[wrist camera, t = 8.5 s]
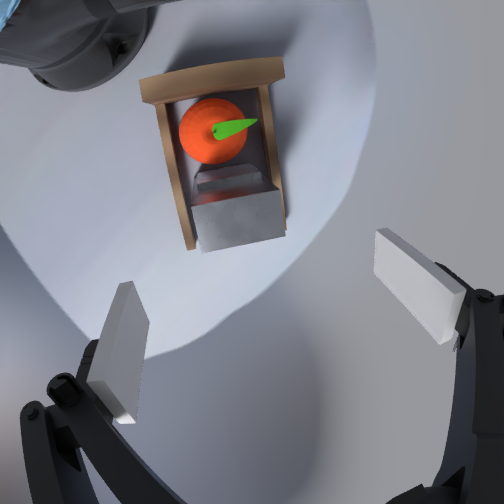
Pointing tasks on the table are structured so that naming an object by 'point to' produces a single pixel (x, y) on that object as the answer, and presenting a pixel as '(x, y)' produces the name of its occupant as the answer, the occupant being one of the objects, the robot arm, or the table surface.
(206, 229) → the block
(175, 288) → the table surface
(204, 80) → the frame
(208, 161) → the clementine
